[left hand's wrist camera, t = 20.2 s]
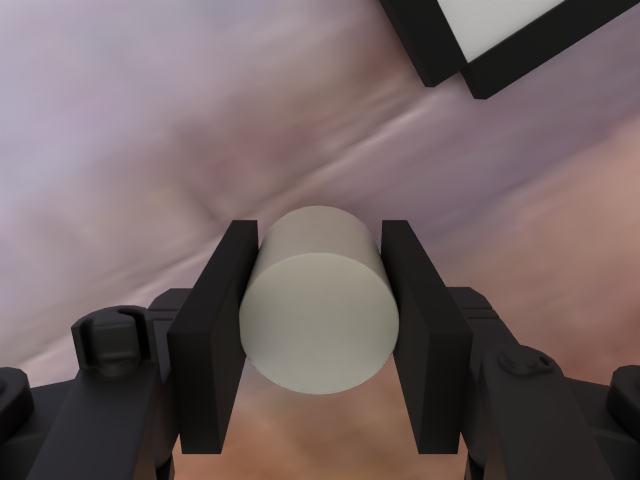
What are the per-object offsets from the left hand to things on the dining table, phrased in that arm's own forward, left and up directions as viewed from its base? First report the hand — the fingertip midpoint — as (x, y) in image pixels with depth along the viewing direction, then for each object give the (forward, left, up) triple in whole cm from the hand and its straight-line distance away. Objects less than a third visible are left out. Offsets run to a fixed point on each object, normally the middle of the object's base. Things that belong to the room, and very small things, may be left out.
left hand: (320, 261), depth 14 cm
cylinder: (0, 0, 0) cm, 0 cm away
